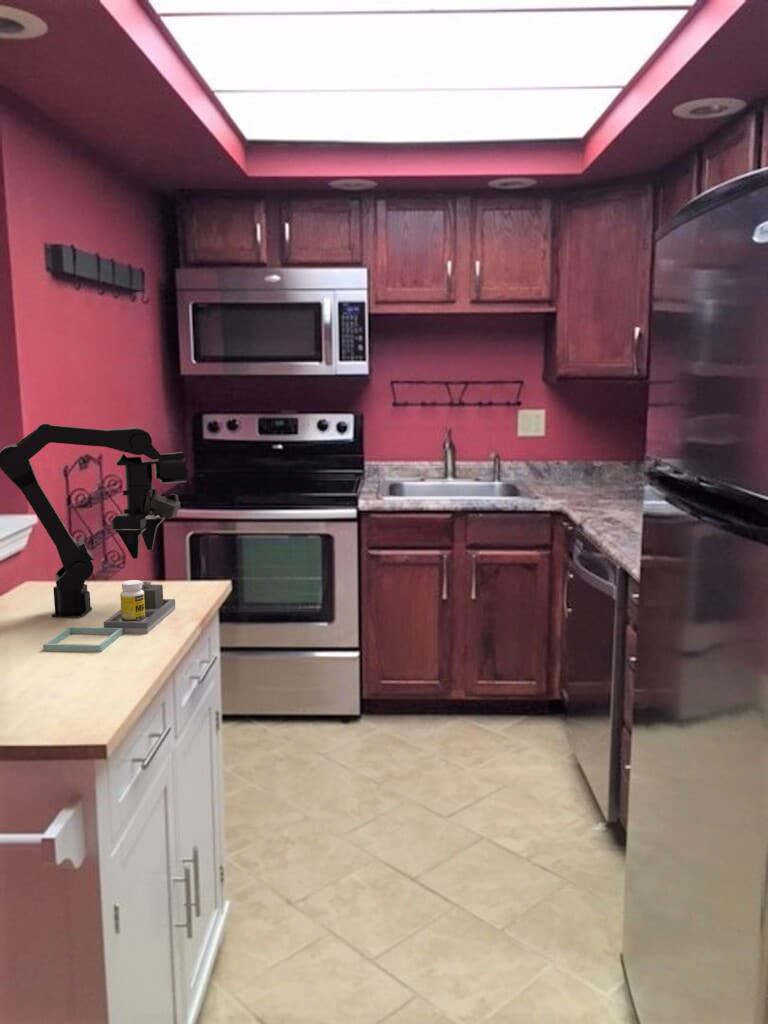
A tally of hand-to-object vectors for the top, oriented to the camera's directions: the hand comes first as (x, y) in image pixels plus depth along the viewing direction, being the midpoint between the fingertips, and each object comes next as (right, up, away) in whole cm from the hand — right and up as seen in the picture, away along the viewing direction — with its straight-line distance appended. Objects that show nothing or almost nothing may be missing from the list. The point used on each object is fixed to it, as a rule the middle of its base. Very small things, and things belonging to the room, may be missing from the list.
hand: (142, 553), depth 188 cm
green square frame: (-5, -16, -23) cm, 29 cm away
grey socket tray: (+2, -14, -9) cm, 17 cm away
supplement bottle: (+2, -14, -14) cm, 19 cm away
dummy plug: (+3, -13, -5) cm, 14 cm away
